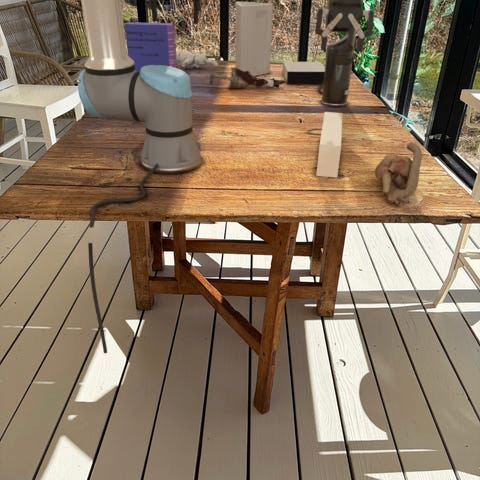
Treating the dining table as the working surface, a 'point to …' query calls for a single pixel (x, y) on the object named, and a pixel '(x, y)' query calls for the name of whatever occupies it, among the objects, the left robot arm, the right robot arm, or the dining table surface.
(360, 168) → the dining table surface
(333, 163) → the bar
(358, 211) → the dining table surface
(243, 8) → the white tapered box
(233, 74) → the figurine
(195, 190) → the dining table surface
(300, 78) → the disc drive
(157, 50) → the cereal box
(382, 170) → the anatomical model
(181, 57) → the toy
